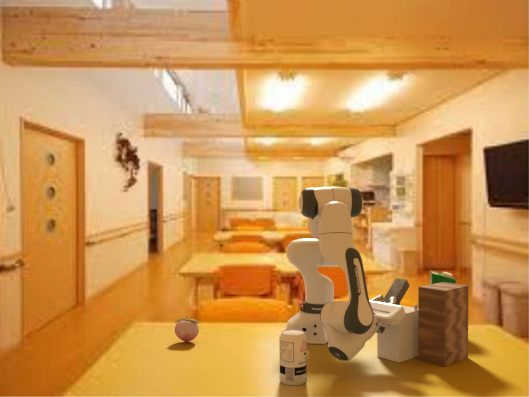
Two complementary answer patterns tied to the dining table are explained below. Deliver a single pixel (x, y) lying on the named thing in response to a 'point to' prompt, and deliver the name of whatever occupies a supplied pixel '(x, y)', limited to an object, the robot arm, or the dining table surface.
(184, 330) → the decorative fruit
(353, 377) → the dining table surface
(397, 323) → the robot arm
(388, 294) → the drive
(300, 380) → the supplement can
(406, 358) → the dock
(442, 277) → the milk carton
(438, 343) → the stand
